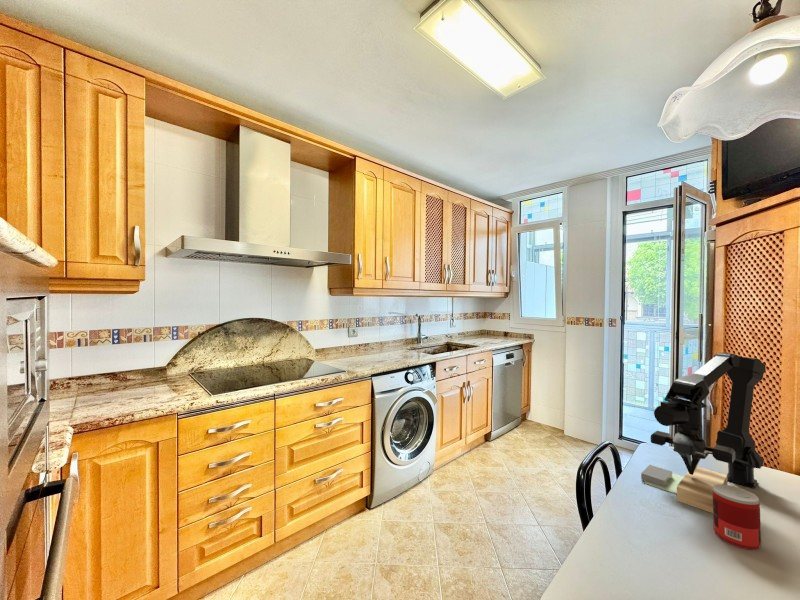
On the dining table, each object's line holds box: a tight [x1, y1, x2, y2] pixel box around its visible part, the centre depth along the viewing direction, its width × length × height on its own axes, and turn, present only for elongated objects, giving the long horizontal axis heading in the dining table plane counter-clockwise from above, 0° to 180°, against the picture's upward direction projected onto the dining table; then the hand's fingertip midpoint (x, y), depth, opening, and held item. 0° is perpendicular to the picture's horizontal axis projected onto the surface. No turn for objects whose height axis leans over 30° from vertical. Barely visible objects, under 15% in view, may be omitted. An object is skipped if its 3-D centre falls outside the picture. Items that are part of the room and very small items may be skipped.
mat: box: [643, 472, 685, 495], centre depth 105 cm, size 14×9×1 cm, turn 128°
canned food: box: [712, 484, 762, 551], centre depth 79 cm, size 8×8×11 cm
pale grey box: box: [640, 464, 673, 487], centre depth 106 cm, size 9×6×2 cm, turn 129°
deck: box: [676, 466, 728, 514], centre depth 98 cm, size 20×8×4 cm, turn 128°
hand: (691, 474), depth 100 cm, fingers closed
